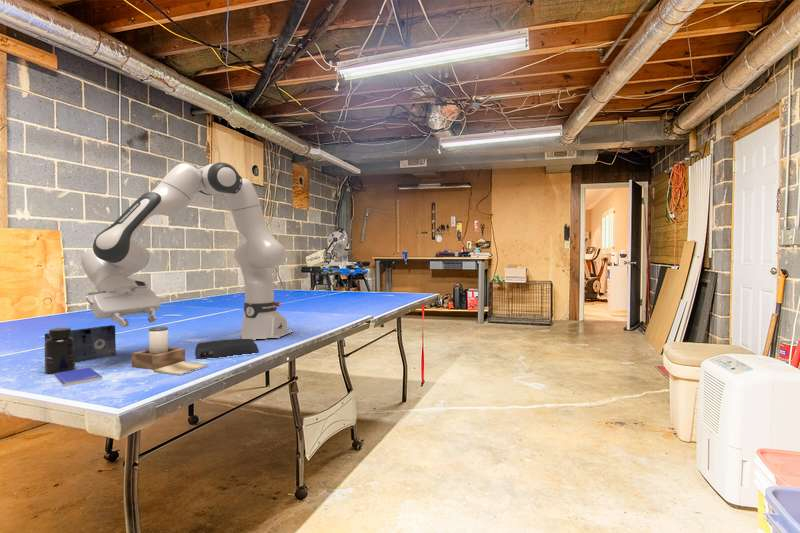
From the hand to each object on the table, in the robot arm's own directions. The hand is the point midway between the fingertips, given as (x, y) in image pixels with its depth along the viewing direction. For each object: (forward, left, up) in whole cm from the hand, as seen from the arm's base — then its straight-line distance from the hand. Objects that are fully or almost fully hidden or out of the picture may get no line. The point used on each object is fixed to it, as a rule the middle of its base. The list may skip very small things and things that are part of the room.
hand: (140, 323), depth 129 cm
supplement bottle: (+15, -13, -12) cm, 23 cm away
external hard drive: (-19, +17, -13) cm, 28 cm away
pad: (+2, +18, -12) cm, 22 cm away
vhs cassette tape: (+5, -19, -12) cm, 23 cm away
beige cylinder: (0, +7, -12) cm, 14 cm away
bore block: (0, +7, -12) cm, 14 cm away
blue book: (+18, -1, -13) cm, 22 cm away
